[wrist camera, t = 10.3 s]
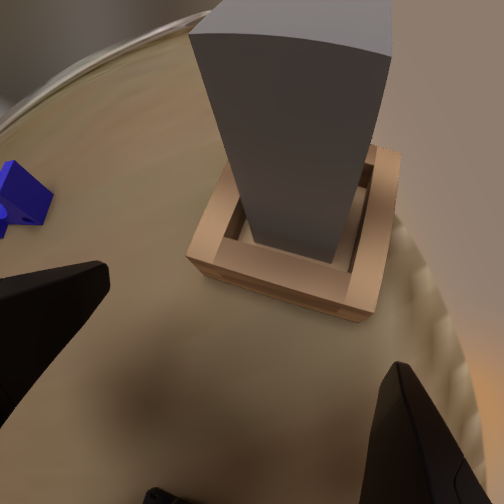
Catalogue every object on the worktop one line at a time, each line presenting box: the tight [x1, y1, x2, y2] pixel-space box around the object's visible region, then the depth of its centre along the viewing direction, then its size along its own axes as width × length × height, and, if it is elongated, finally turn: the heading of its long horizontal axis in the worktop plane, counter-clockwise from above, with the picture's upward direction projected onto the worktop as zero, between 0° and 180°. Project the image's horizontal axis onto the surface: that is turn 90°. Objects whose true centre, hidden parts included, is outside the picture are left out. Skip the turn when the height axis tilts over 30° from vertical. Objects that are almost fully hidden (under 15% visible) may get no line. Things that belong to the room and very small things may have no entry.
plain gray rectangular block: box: [188, 0, 392, 264], centre depth 12 cm, size 4×4×13 cm
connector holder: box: [185, 144, 401, 323], centre depth 17 cm, size 10×10×4 cm
